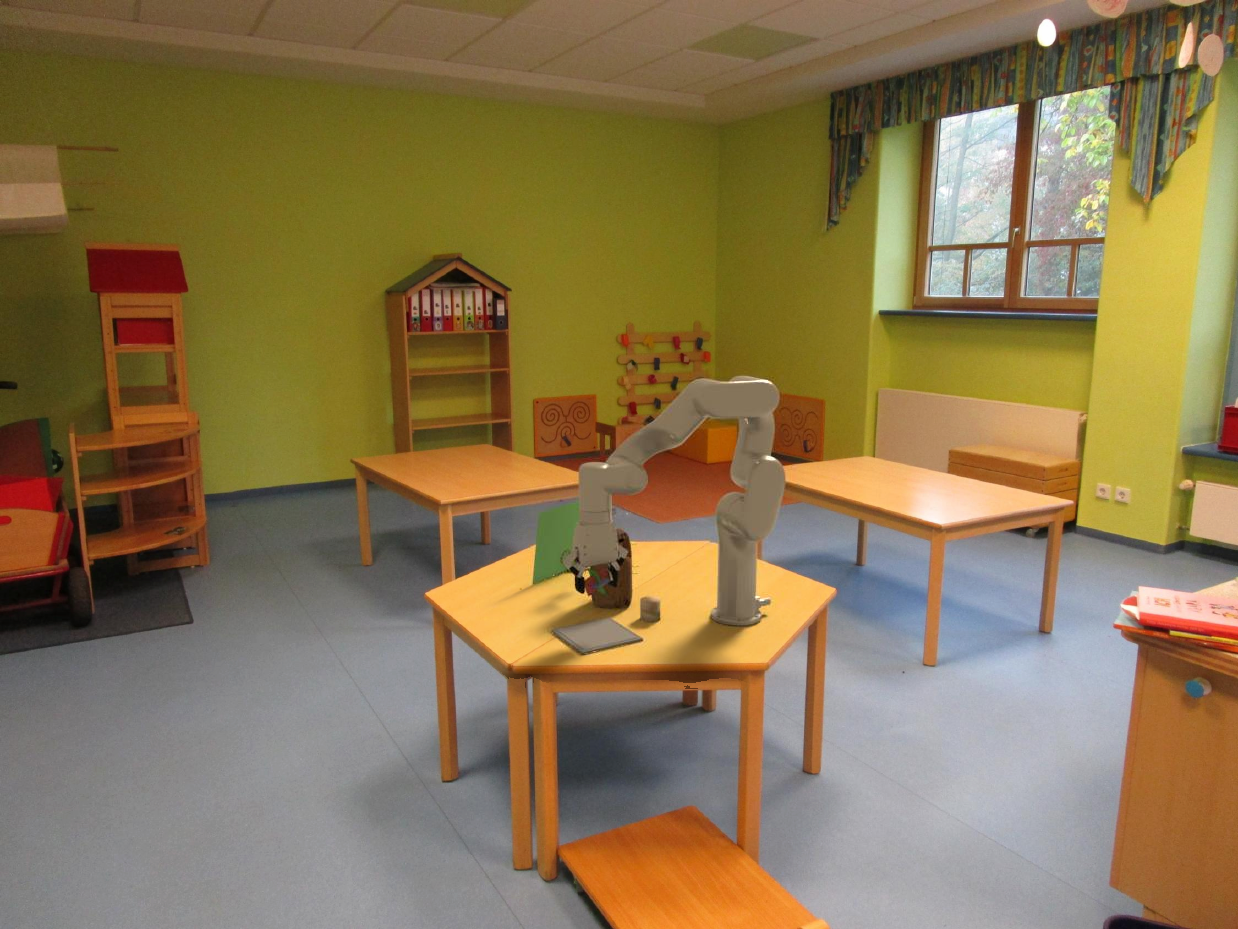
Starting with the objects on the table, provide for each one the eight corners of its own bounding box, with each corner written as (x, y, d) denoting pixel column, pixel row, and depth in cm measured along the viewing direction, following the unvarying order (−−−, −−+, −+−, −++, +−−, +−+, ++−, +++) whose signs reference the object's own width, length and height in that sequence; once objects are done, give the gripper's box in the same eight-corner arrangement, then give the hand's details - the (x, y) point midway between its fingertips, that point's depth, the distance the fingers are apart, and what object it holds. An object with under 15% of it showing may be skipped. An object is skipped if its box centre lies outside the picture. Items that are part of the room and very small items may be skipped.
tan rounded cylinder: (653, 613, 222) (653, 595, 221) (664, 620, 218) (664, 600, 217) (636, 617, 220) (636, 598, 219) (647, 623, 216) (647, 604, 215)
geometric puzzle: (586, 594, 200) (602, 563, 201) (569, 586, 205) (586, 556, 207) (607, 606, 204) (623, 576, 206) (590, 598, 210) (606, 568, 211)
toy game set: (601, 615, 231) (611, 530, 225) (530, 584, 245) (538, 503, 239) (648, 593, 249) (658, 513, 242) (579, 565, 262) (587, 489, 256)
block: (588, 607, 227) (587, 532, 223) (595, 597, 234) (594, 525, 230) (629, 610, 225) (629, 535, 221) (635, 600, 232) (635, 527, 228)
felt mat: (608, 619, 219) (608, 616, 219) (642, 640, 205) (642, 637, 205) (550, 631, 211) (550, 628, 211) (582, 654, 197) (582, 652, 197)
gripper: (620, 508, 210) (620, 578, 213) (554, 517, 201) (556, 590, 205) (636, 514, 204) (636, 586, 207) (569, 525, 195) (570, 600, 198)
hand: (596, 588), depth 206 cm, fingers closed on geometric puzzle, 8 cm apart
